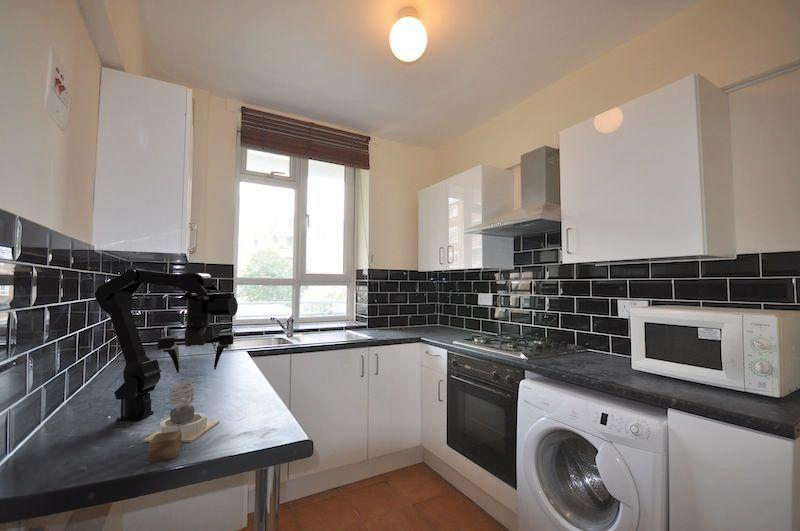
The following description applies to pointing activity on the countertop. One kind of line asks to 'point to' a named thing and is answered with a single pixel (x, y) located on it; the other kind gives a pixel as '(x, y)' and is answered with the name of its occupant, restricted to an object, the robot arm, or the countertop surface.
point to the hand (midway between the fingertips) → (196, 370)
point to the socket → (186, 428)
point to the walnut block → (165, 446)
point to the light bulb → (184, 410)
